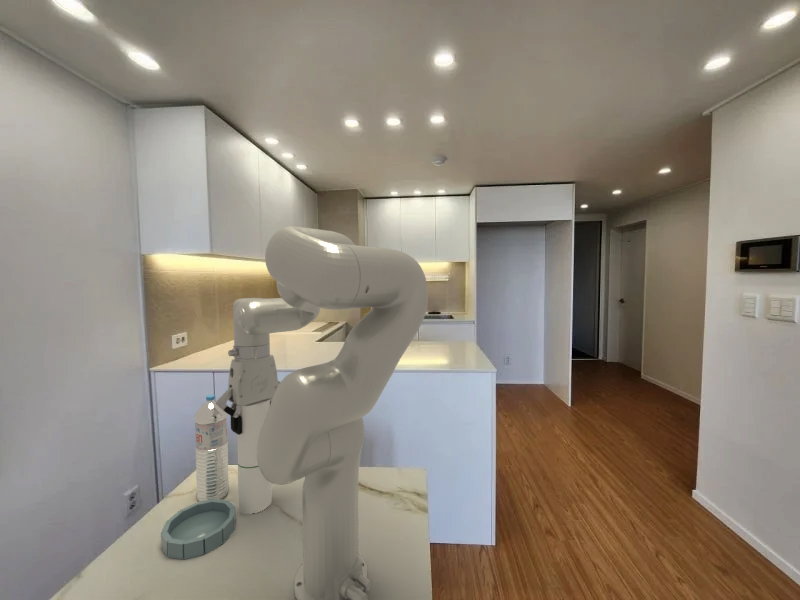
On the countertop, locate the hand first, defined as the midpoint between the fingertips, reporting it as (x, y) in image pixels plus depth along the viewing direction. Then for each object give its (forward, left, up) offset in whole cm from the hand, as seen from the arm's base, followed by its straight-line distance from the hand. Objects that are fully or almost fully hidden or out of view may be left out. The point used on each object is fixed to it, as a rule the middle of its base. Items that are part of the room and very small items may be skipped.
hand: (254, 426), depth 79 cm
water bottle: (+11, +5, -19) cm, 23 cm away
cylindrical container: (0, 0, -19) cm, 19 cm away
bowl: (0, +12, -19) cm, 22 cm away
